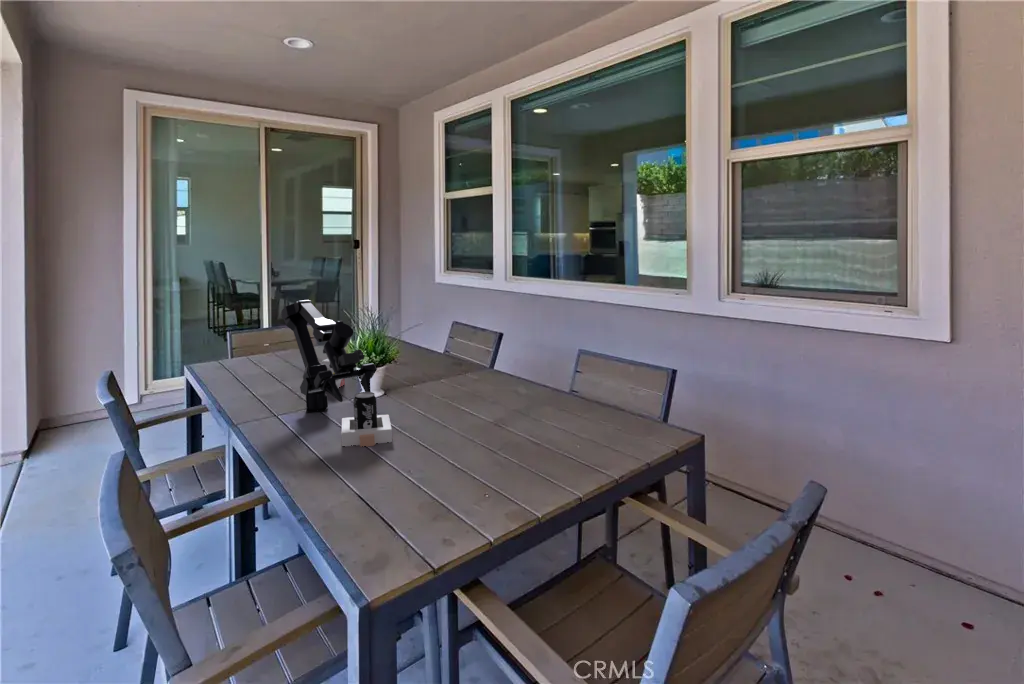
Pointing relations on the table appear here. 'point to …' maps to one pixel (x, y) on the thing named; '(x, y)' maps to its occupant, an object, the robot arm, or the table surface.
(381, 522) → the table surface
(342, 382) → the ink cartridge box
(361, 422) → the beverage can
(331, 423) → the table surface
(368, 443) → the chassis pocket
